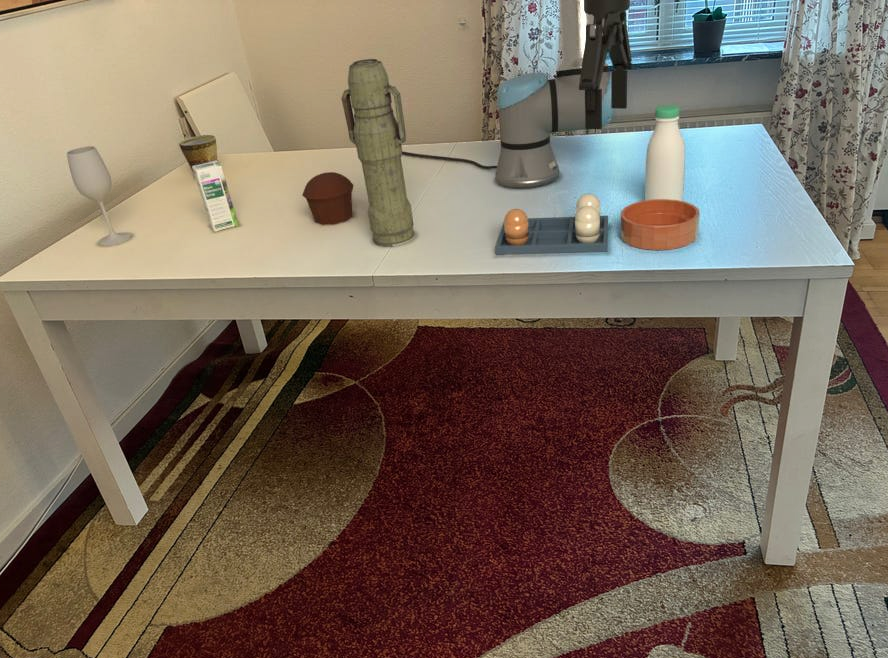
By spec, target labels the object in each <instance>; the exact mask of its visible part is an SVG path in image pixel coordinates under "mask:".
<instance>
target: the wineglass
mask: <svg viewBox="0 0 888 658" xmlns="http://www.w3.org/2000/svg"><path fill="white" fill-rule="evenodd" d="M66 159H67V163H68V168H69V171H70V175H71V179H72V182H73V185H74V187H75V188H76V190H77V191H78V192H79V194H81V195H82V196H84V197H85V198H87V199H88V200H91V201H94V202H96V203H97V204H98V205H99V206H100V208H101V209H100V210H101V212H102V214H103V217H104V219H105V222H106V225H107V226H108V230H109V235H106V236H105V237H102V238H101V239H99V240H98V245H99V246H101V247H112V246H115V245H120V244H122V243H126V242H127V241H129V240H130V239H131V238H132V234H130V233H129V232H118V233H117V232H116V231H114V229H113V226H112V224H111V221H110V218H109V216H108V213H107V210H106V208H105V199H106V198H107V197H108V195H109V193H110V191H111V188H112V182H113V181H112V177H111V174H110V172H109V170H108V168H107V166H106V164H105V161H104V159H103V158H102V156H101V154H100V153H99V151H98V149H97V148H96V146H91V145H90V146H82V147H78V148H73V149H71V150H69V151H67V152H66Z"/></svg>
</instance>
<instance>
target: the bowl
mask: <svg viewBox="0 0 888 658" xmlns="http://www.w3.org/2000/svg"><path fill="white" fill-rule="evenodd" d="M700 215H701V214H700V209H699V208H698V207H697V206H695V204H692V203H690V202H688V201H685V200H683V201H679V200H671V199H651V200H645V199H644V200H640V201H636V202H634V203H633V202H632V203H630V204H628V205H626V206H624V208H622V210H621V211H620V239H621V240H622V241H623V243H625V244H626V245H629V246H630V247H633V248H637V249H641V250H651V251H669V250H674V249H680V248H683V247H686V246H689V245H691V244H692V243H694V242H695V241H696V240H697V239H698V237H699V230H700V229H699V228H700Z"/></svg>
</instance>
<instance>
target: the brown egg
mask: <svg viewBox="0 0 888 658" xmlns="http://www.w3.org/2000/svg"><path fill="white" fill-rule="evenodd" d="M528 218H529V217H528V215H527V214H526V212H525V211H524V210H522V209H520V208H512V209H510V210H508V211H507V212H506V213H505V215H504V218H503V223H504V228H505V238H506V241H507V242H508V243H509V244H510V245H524V244H525V243H526V242H527V240H528V238H529V227H528Z"/></svg>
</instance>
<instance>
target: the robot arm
mask: <svg viewBox="0 0 888 658" xmlns="http://www.w3.org/2000/svg"><path fill="white" fill-rule="evenodd" d="M630 7H631V0H559V16H560V17H559V18H560V37H561V38H560V39H561V58H562V59H561V60H562V61H561V63H560V64H559V65H558V67H557V68H556V70H555V72H556V73H555V74H556V78H552V79H551V78H550V79H549V76H548V75H547V73H545V72H530V73H525V74H521V75H517V76H514V77H512V78H509V79H506V80H505V81H504V82H502V83H500V85H498V88H497V91H496V94H497V96H496V97H497V99H496V100H497V101H496V102H497V104H496V109H497V111H498V125H499V127H498V128H499V139H500V152H499V156H498V160H497V165H483V164H480V163H478V162H477V161H475V160H471V159H467V158H459V157H450V156H440V155H429V154H421V153H416V152H415V153H414V152H408V151H403V150H402V155H405V156H409V157H410V156H411V157H418V158H427V159H435V160H443V161H445V160H446V161H453V162H462V163H463V162H464V163H467V164H471V165H474V166H476V167H478V168H480V169H482V170H483V169H484V170H493V169H495V173H494V174H495V182H496V184H498V185H499V186H501V187H503V188H507V189H520V190H521V189H534V188H539V187H543V186H547V185H550V184H552V183H554V182H555V181H557V180H558V179H559V178H560V167H559V164H558V161H557V159H556V156H555V154H554V151H553V148H552V146H551V134H552V133H563V132H572V131H583V130H584V131H585V130H589V131H590V130H602V129H603V128H604V127H606V126H608V125H609V124H610V123H611V121H612V119H613V116H614V111H615V109H619V110H620V109H622V110H623V109H625V110H626V109H627V108H628V70H633V62H632V61H633V60H632V51H631V45H630V39H629V31H628V25H627V24H628V23H627V21H628V20H627V15H628V14H627V11H628V10H629V9H630ZM607 55H608V56H609V59H610V61H611V65H612V68H613V70H612V71H610V72H609V63H608V62H607V61H606V60H607Z"/></svg>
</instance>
